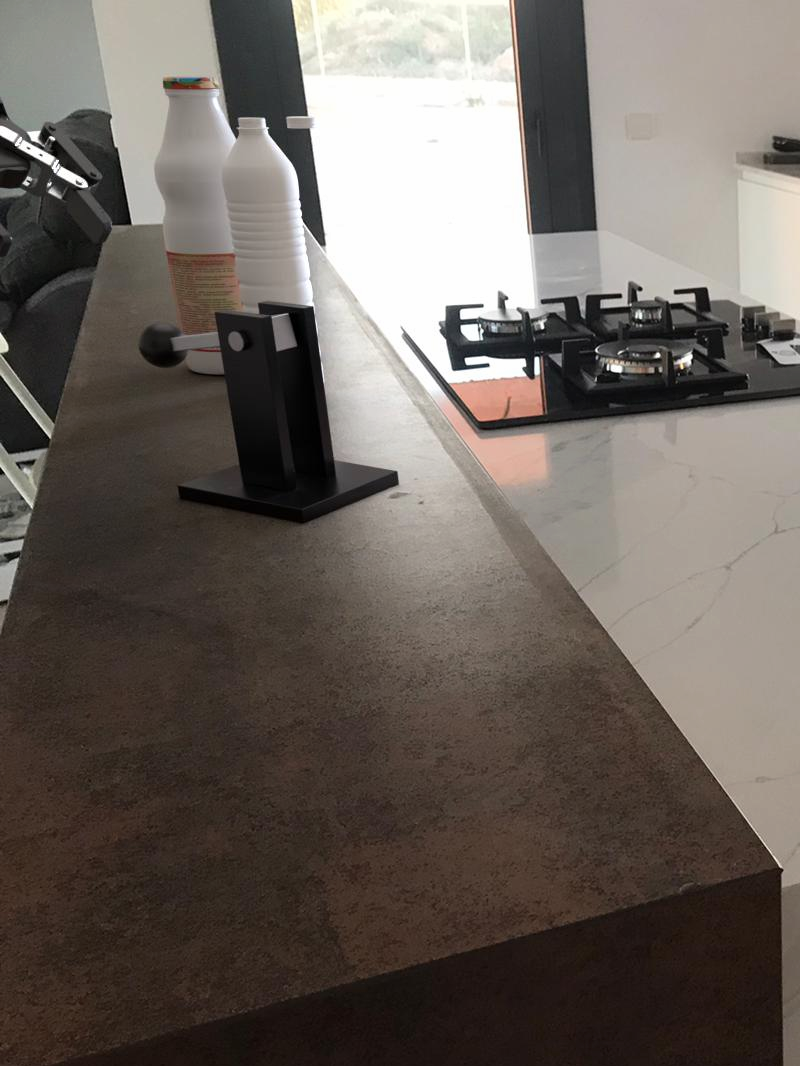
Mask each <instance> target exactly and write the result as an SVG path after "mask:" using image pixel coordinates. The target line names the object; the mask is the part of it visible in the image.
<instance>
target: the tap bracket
mask: <svg viewBox="0 0 800 1066" xmlns="http://www.w3.org/2000/svg"><path fill="white" fill-rule="evenodd" d="M314 307H315V305H314V306H308V305H299V304H291V303H282V302H274V301H264V302H260V303H258V308H259V314H255V313H246V312H238V311H230V310H222V311H217V312H215V319H216V325H217V331H218V338H219V344H220V350H221V356H222V362H223V368H224V374H225V375H224V379H225V380H224V381H225V386H226V392H227V397H228V404H229V410H230V416H231V422H232V428H233V434H234V441H235V446H236V452H237V457H238V458H237V459H238V464H235V465H232V466H229V467H226V468H224V469H220V470H218V471H215V472H211V473H209V474H206V475H203V476H200V477H197V478H194V479H192V480H188V481H185V482H183V483H179V484H177V487H176V488H177V491H178V497H179V500H183V501H189V502H193V503H197V504H204V505H207V506H208V505H209V506H214V507H218V508H222V509H229V510H233V511H238V512H244V513H249V514H252V515H257V516H263V517H268V518H274V519H279V520H283V521H289V522H293V523H299V524H307V523H310V522H311V521H312V522H313V521H314V520H316V519H319V518H321V517H323V516H326V515H328V514H330V513H333V512H335V511H338V510H340V509H342V508H345V507H347V506H350V505H353V504H355V503H357V502H360V501H363V500H365V499H367V498H370V497H372V496H374V495H377V494H380V493H382V492H384V491H386V490H389V489H391V488H393V487H396V486H399V485H400V481H399V471H397V470H394V469H387V468H383V467H382V468H381V467H376V466H370V465H364V464H358V463H354V462H347V461H343V460H342V461H341V460H336V459H335V457H334V450H333V441H332V434H331V427H330V420H329V412H328V404H327V396H326V389H325V380H324V381H323V374H324V372H323V373H322V367H323V365H322V366H321V362H322V359H321V357H320V353H321V350H320V351H319V345H320V342H319V335H318V336H317V330H318V327H317V328H316V323H317V320H316V321H315V319H316V312H315V313H314ZM279 314H289V316H290V320H291V324H292V327H293V331H294V335H295V338H296V342H297V347H294V348H290V349H286V350H282V351H278V352H277V350H276V343H275V336H274V330H273V323H272V316H270V315H279ZM318 342H319V343H318Z"/></svg>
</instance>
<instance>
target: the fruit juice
mask: <svg viewBox="0 0 800 1066" xmlns="http://www.w3.org/2000/svg"><path fill="white" fill-rule="evenodd" d="M162 88H163V91H164V94H165V96H167V97H168V109H167V114H166V115H167V116H166V120H165V121H166V122H165V126H164V127H165V128H164V133H163V137H162V142H161V145H160V149H159V150H158V153H157V155H156V157H155V160H154V165H153V172H154V179H155V183H156V186H157V188H158V191H159V193H160V195H161V197H162V200H163V201H164V206H165V207H164V208H165V209H164V215H163V219H162V233H163V240H164V247H165V252H166V257H167V264H168V268H169V274H170V280H171V286H172V292H173V297H174V304H175V309H176V314H177V321H178V326H179V327H178V328H179V329H180V330H181V331H182V332H183V333H184V335H194V334H203V333H212V332H218V331H217V325H216V319H215V312H217V311H222V310H230V311H238V312H243V311H242V306H243V303H242V301H241V298H240V292H239V284H240V282H239V280H238V278H237V273H236V265H235V254H234V251H233V248H234V246H233V244H232V239H233V237H232V236H231V227H230V225H229V221H230V219H229V217H228V211H229V210H228V209H227V206H226V203H227V200H226V198H225V193H224V189H223V183H222V170H223V166H224V163H225V161H226V159H227V157H228V155H229V153H230V151H231V149H232V147H233V146H234V144H235V142H236V140H237V138H236V136H235V133H234V132H233V130H232V129H231V126H230V124H229V122H228V120H227V117H226V116H225V113H224V112H223V110H222V108H221V106H220V103H219V99H218V98H219V96H220V85H219V80H218V78H217V77H214V76H164V77H163V78H162ZM184 360H185V362H186V363H185V364H186V365H187V367H188V369H189V370H190V371H192V372H195V373H198V374H204V375H215V376H216V375H220V376H222V375H223V376H225V374H224V368H223V362H222V356H221V350H220V347H215V348H205V349H195V350H188V353H187V356H186V358H185V359H184Z"/></svg>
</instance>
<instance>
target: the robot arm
mask: <svg viewBox="0 0 800 1066" xmlns="http://www.w3.org/2000/svg"><path fill="white" fill-rule="evenodd" d="M3 101H4V100H3V99H2V97H1V96H0V189H7V190H8V189H9V190H13V189H21V190H23V191H25V192H27V193H28V194H31V195H32V196H34V197H37V198H40V197H47V198H48V199H51V200H52V201H54V202H56V203H58V204H59V205H61V206H63V207H65V208H66V209H65V211H66V212H67V213H68V214H69V215H70V217H71V218H72V219H73V220H74V221H75V222H76V224H77V225H78V226H79V227H80V229H81V230H82V231H83V232H84V233H85V234H86V236H87V237H88V239H90V241H91V242H92V243H93V244H95V245H96V244H102V243H106V242H107V240H108V238H109V236H110V235H111V232H112V231H113V221H112V218H111V217H110V215H109V214H108V213H107V212H106V211H105V210H104V208H103V207H102V206H101V204H100V203H99V202H98V201H97V200H96V198H95V197H94V194H95V192H96V190H97V188H98V186H99V184H100V182H101V180H102V178H103V175H102V173H101V172H100V171H99V170H98V168H97V167H96V166H95V165H94V164H93V163H92V162H91V161H90V160H89V159H88V157H87V156H86V155H85V154H84V153H83V152H82V151H81V150H80V149H79V147H77V145H76V144H75V143H74V142H73V141H72V140H71V138H69V137H68V135H67V134H66V133H65V132H64V131H63V130H62V128H60V126H59V125H57V124H56V123H55V122H52V121H45V122H44V123H43V125H42V127H41V129H40V130H34V131H33V130H32V131H26V130H25V129H24V128H22V127H20V126H19V125H18V124H16V123H15V122H13V120H11V118H10V117H9V115H8V113H7V110H6V107H5V105H4V102H3ZM32 163H34V164H36V165H37V166H38V167H39V168H40V173H39V174H38V177H37V178H34V177H31V176H30V175H29V174H30V172H31V169H32ZM78 172H79V173H80V175H79V174H78ZM53 179H54V180H55V181H57V182H59V183H61V184H63V185H65V186H66V187H65V189H63V188H61V187H59V186H57V185H55V184H53V183H52V180H53ZM12 244H13V238H12V236H11V234H10V233H9V232H8V230H7V229H6V228H5V227H4V225H3V224H2V223H1V222H0V258H4V257H7V255H8V253H9V250H10V249H11V247H12Z"/></svg>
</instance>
